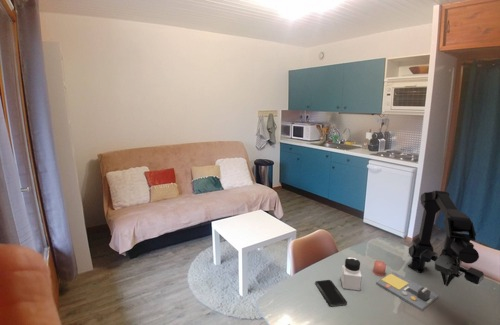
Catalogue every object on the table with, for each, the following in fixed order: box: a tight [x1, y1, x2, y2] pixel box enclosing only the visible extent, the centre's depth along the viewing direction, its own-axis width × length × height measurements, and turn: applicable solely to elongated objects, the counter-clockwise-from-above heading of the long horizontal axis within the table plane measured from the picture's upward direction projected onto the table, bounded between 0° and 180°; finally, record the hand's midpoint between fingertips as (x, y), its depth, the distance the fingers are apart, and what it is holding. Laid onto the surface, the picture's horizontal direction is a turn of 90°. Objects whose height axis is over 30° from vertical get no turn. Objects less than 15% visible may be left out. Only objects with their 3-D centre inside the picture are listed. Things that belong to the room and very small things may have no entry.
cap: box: [372, 259, 387, 277], centre depth 127 cm, size 5×5×5 cm
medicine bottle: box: [340, 257, 363, 292], centre depth 117 cm, size 7×7×12 cm
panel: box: [375, 271, 439, 312], centre depth 115 cm, size 14×19×2 cm
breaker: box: [417, 286, 432, 301], centre depth 109 cm, size 4×3×4 cm
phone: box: [314, 279, 348, 308], centre depth 113 cm, size 8×1×15 cm
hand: (446, 285), depth 102 cm, fingers closed
